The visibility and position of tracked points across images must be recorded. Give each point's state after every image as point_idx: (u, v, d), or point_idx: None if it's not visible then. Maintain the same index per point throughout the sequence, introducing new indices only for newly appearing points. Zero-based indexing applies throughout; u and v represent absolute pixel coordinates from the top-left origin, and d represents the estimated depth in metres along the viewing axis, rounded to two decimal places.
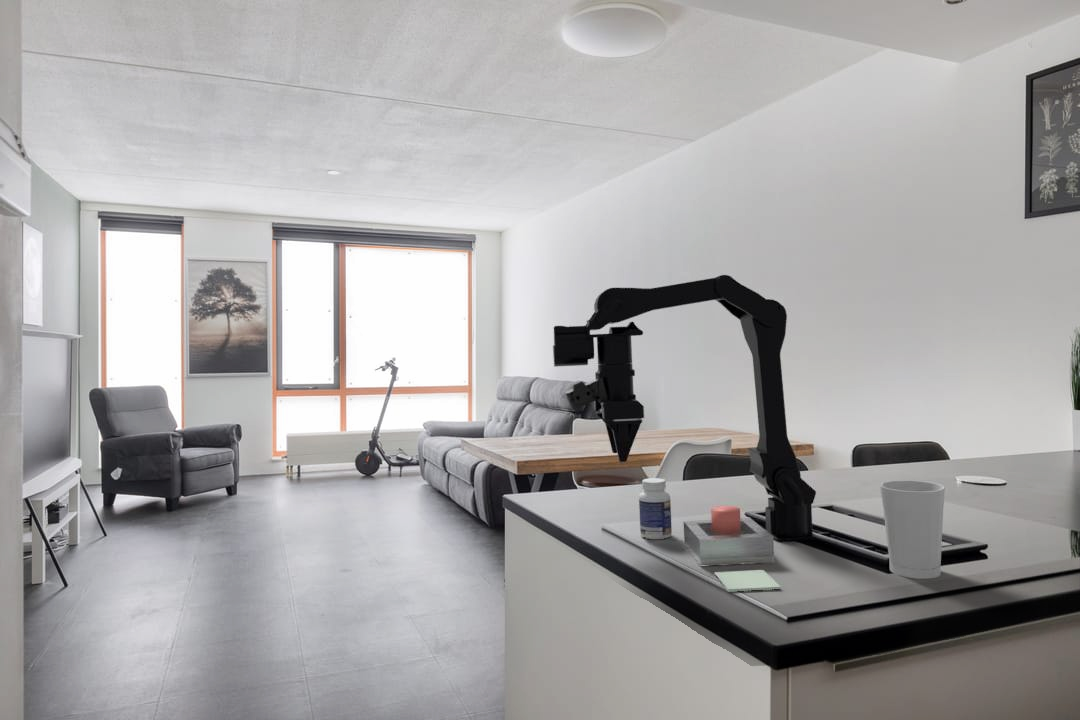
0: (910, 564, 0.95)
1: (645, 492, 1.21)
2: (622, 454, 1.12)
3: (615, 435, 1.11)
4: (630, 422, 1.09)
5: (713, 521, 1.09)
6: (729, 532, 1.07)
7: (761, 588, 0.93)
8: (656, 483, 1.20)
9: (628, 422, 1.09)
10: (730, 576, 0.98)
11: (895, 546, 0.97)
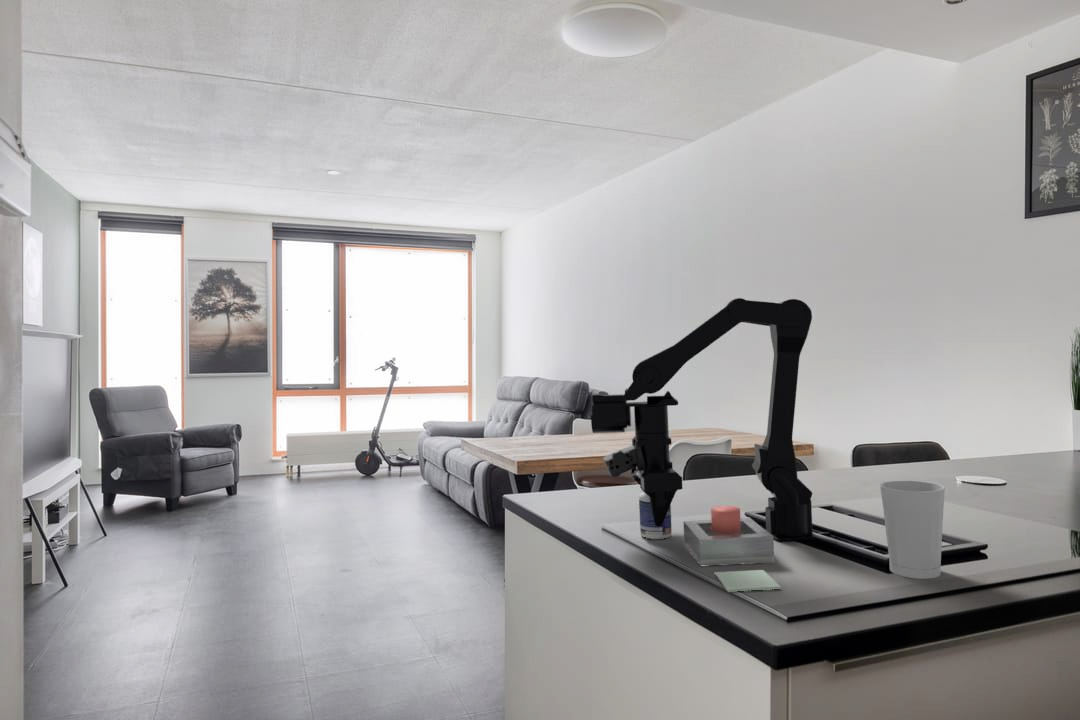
0: (910, 564, 0.95)
1: None
2: (658, 519, 1.18)
3: (652, 501, 1.17)
4: (667, 490, 1.15)
5: (713, 521, 1.09)
6: (729, 532, 1.07)
7: (761, 588, 0.93)
8: None
9: (665, 490, 1.15)
10: (730, 576, 0.98)
11: (895, 546, 0.97)
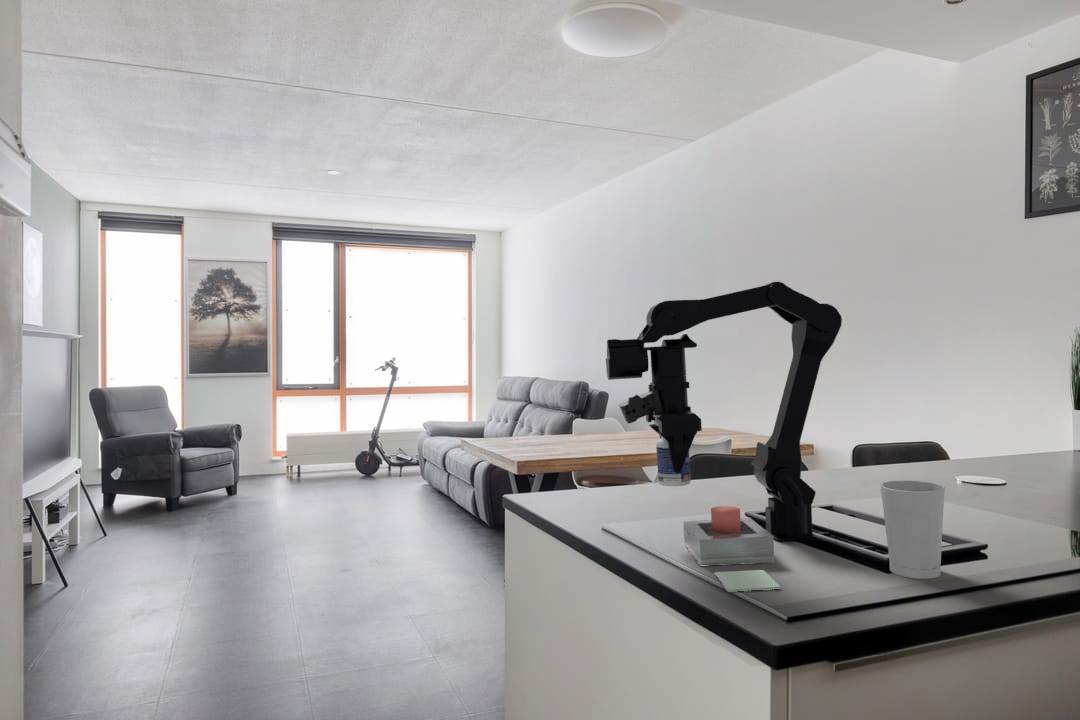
0: (910, 564, 0.95)
1: (663, 438, 1.17)
2: (677, 464, 1.14)
3: (670, 446, 1.13)
4: (685, 433, 1.11)
5: (713, 521, 1.09)
6: (729, 532, 1.07)
7: (761, 588, 0.93)
8: None
9: (683, 433, 1.11)
10: (730, 576, 0.98)
11: (895, 546, 0.97)
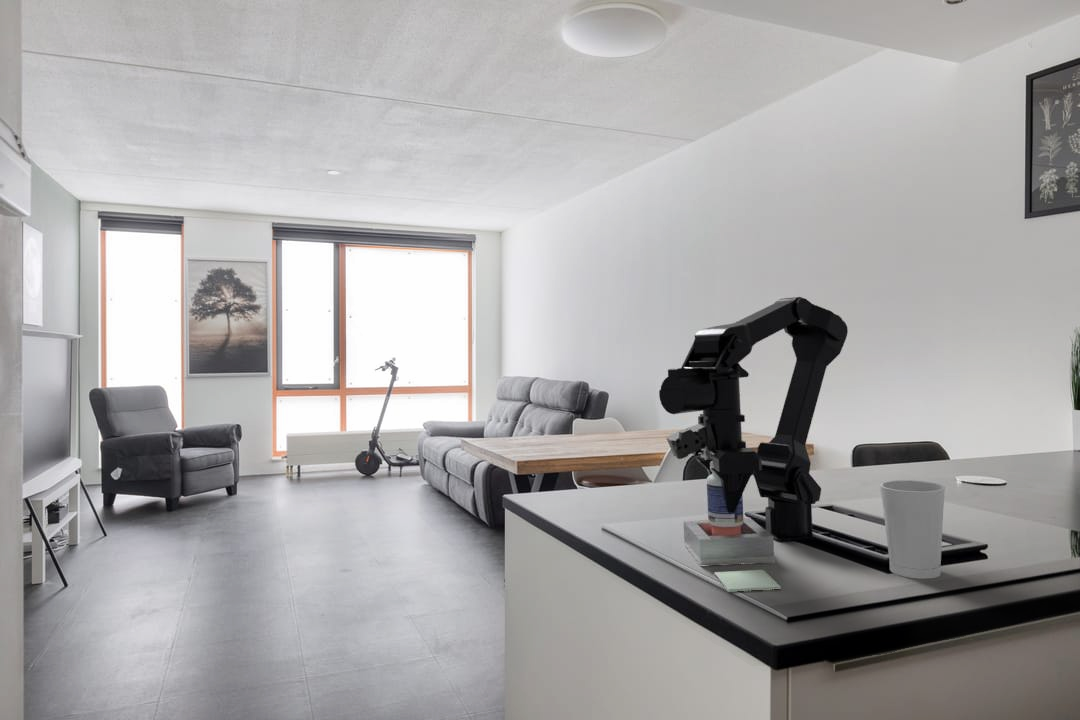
0: (910, 564, 0.95)
1: (714, 475, 1.09)
2: (731, 504, 1.06)
3: (725, 485, 1.05)
4: (742, 472, 1.03)
5: None
6: None
7: (761, 588, 0.93)
8: None
9: (740, 472, 1.03)
10: (730, 576, 0.98)
11: (895, 546, 0.97)
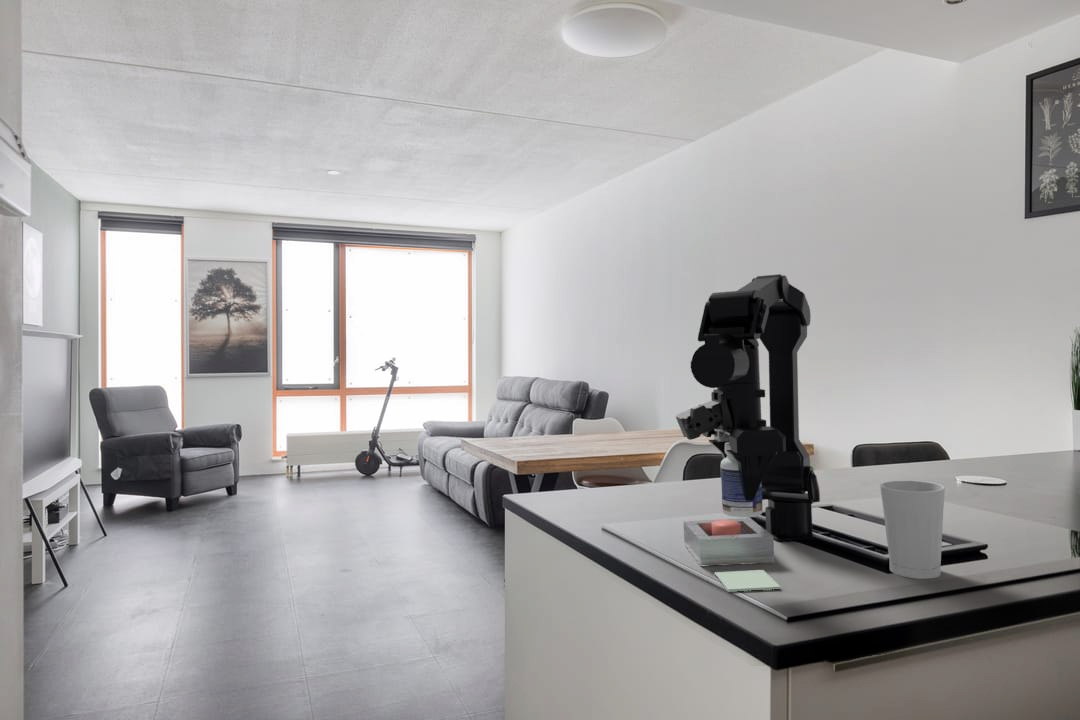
0: (910, 564, 0.95)
1: (730, 458, 0.96)
2: (749, 491, 0.93)
3: (742, 469, 0.92)
4: (763, 454, 0.90)
5: None
6: None
7: (761, 588, 0.93)
8: None
9: (761, 454, 0.90)
10: (730, 576, 0.98)
11: (895, 546, 0.97)
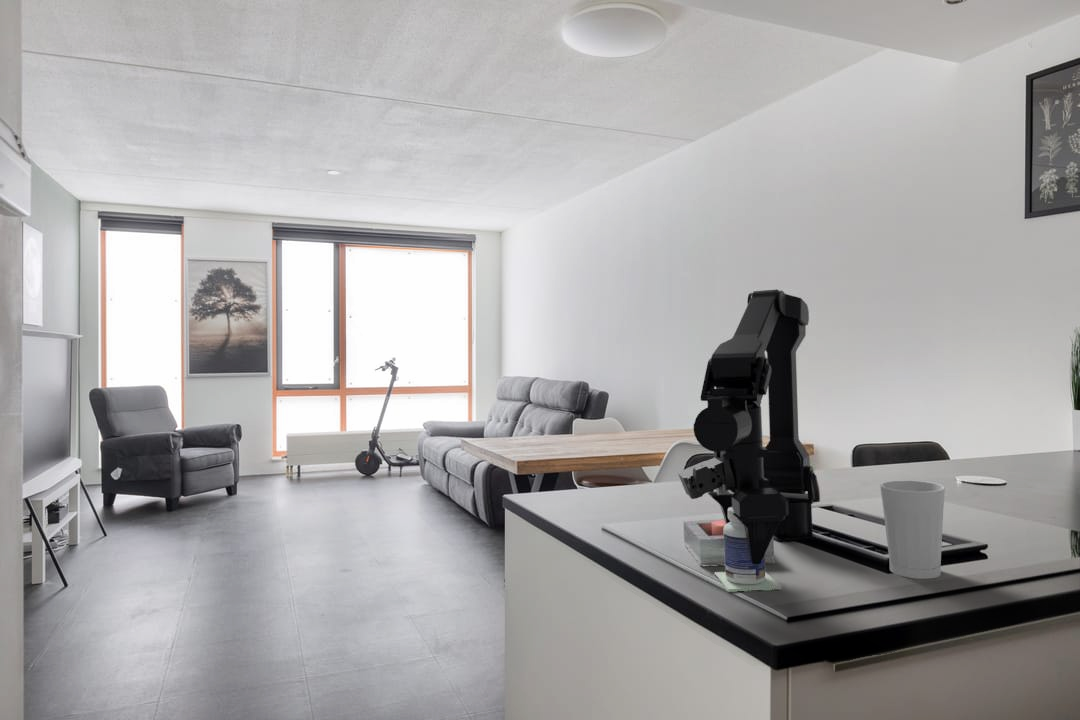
0: (910, 564, 0.95)
1: (733, 524, 0.96)
2: (756, 555, 0.92)
3: (749, 533, 0.90)
4: (770, 519, 0.89)
5: None
6: None
7: (761, 588, 0.93)
8: None
9: (768, 519, 0.88)
10: None
11: (895, 546, 0.97)
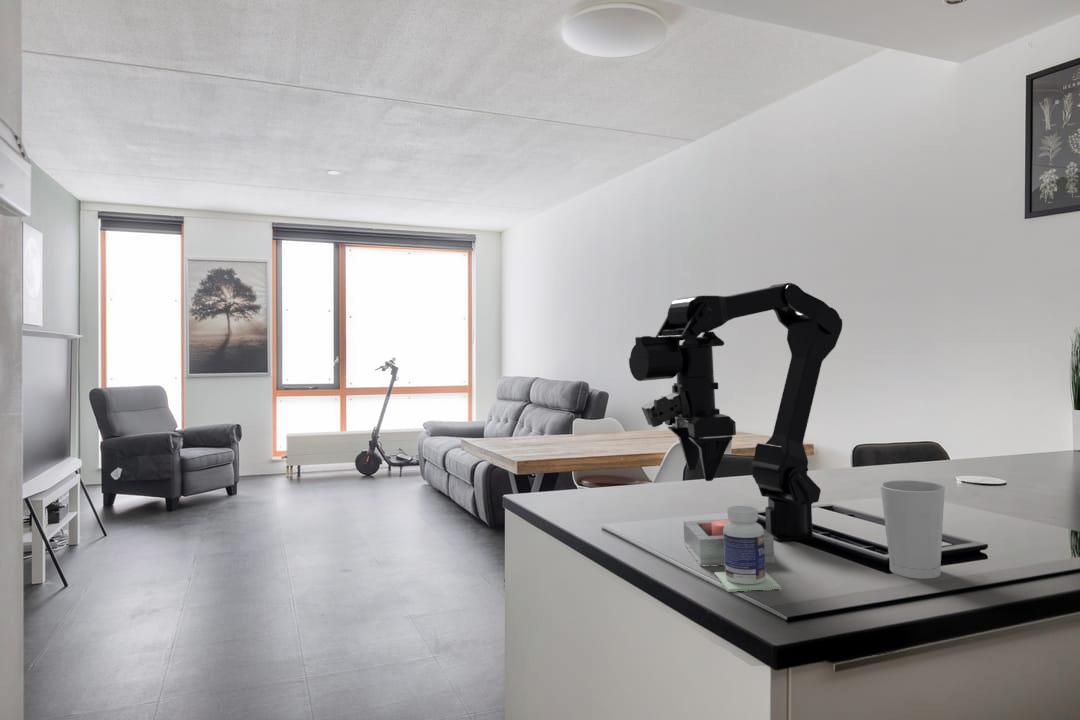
0: (910, 564, 0.95)
1: (733, 524, 0.96)
2: (709, 473, 1.06)
3: (703, 453, 1.04)
4: (720, 439, 1.03)
5: None
6: None
7: (761, 588, 0.93)
8: (747, 513, 0.95)
9: (718, 439, 1.03)
10: None
11: (895, 546, 0.97)
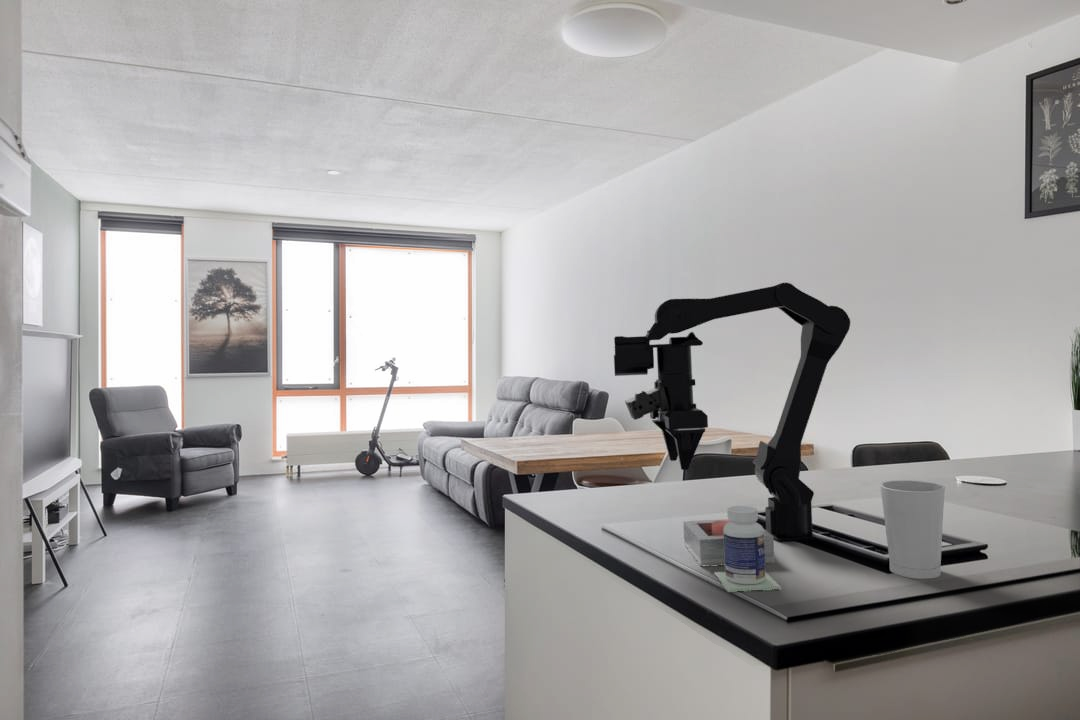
0: (910, 564, 0.95)
1: (733, 524, 0.96)
2: (684, 462, 1.14)
3: (678, 444, 1.13)
4: (694, 431, 1.11)
5: None
6: None
7: (761, 588, 0.93)
8: (747, 513, 0.95)
9: (692, 431, 1.11)
10: None
11: (895, 546, 0.97)
